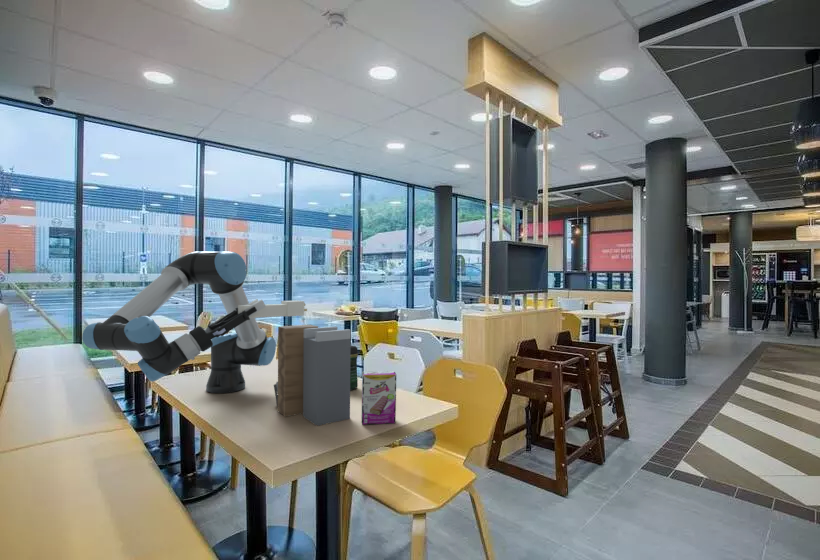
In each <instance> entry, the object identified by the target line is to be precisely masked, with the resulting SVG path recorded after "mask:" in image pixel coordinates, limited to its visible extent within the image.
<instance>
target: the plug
mask: <svg viewBox="0 0 820 560" xmlns="http://www.w3.org/2000/svg"><path fill="white" fill-rule="evenodd" d="M280 301H281V302H280V303H274V304H273V303H271V304H270V303H269V304H267V303H266V304H265V303H264V304H265V306H266V307H265V308H263V309H261V310H260V311H258V312H256V313H255V314H253V315H251V316H250V317H249V318H255V319H257V318H258V319H259V318H279V317H304V316H305V312H308V308H305V306H306V303H305V300H280ZM250 306H251V305H238V314H239V313H241V312H243V311H244V310H245V309H246V308H248V307H250Z"/></svg>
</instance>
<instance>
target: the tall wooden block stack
mask: <svg viewBox="0 0 820 560" xmlns="http://www.w3.org/2000/svg"><path fill="white" fill-rule="evenodd" d="M307 328H319V326H318V325H314V324H298V325H297V324H296V325H282V326H281V325H280V326H277V382H278V394H277V395H278V405H277V412H278V411H279V412H280V413H279V412H278V413H279V414H281V415H282V414H283V415H284V417H285V416H286V417H289V416H288V415H291V416H295V415H294V414H296V415H300V414H299V413H301V414H303V353H304V329H307ZM283 415H282V416H283Z"/></svg>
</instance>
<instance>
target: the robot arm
mask: <svg viewBox="0 0 820 560" xmlns="http://www.w3.org/2000/svg"><path fill="white" fill-rule="evenodd" d="M246 270H247V264H246V262H245V260H244V259H243V257H242V256H241V255H240V254H239V253H237V252H235V251H228V250H227V251H226V250H221V251H193V252H189V253H186V254H183V255H182V256H180V257H178V258H177V259H174V260H173V261H172V262H170V263H169V264H167V266H165V267H164V268H163V269H161V272H160V275H158V277H157V278H155V279H154V280H153V281H152V282H151V283H149V284H148V285H147V286H146V287H145V288H143V289H142V290H141V291H139V293H137V294H136V295H135V296H134V297H132V298H131V299H130V300H128V301H127V302H126V304H124V305H123V306H121V307H120V308H119V309H118V310H116V312H115V313H113V314H112V315H111V316H109V317H108V318H106V320H104V321H103V322H100V321H98V322H93V323H91V324H88V325H87V326H86V327H85V328H84V330H83V331H82V335H81V337H82V342H83V344H84V345H85V346H86V347H87V348H89V349H92V350H93V349H94V350H99V351H127V352H128V351H130V352H132V351H133V352H137V353H138V354H139V355H140V357H141V359H140V360H138V361H137V366H138V367H139V368H140V370H141V372H142V373H143V374H144V375H145V377H146V378H147V379H148V380H149V381H150V382H152V383H153V382H156V381H158V380H159V379H161V378H163V377H165V376H168V375H169V374H170V373H172V372H174V371H175V370H176V369H178V368H179V367H181V366H183V365H184V364H185V363H188V362H189V361H193V360H195V357H197V356H199V355H200V354H201V352H205V351H207V350H208V349H210V373H209V377H208V378H207V379H208V380H207V382H206V385H205V387H206V389H205V390H206V392H208V393H211V394H229V393H235V392H238V391H239V392H240V391H242V390H244V389H245V388H246V380H245V377H244V375H243V372H242V371H243V370H242V366H254V367H261V366H269V365H270V364H271V362H272V361H273V359H274V357H275V354H276V348H277V347H276V346H277V344H276V339H275V338H273V337H271V336H269V337H268V336H267V334H266V331H265V330H264V329H263V328H260V327H259V325H258V322H257V318H249V317H250V316H251V315H253V314H255V313H256V312H258V311H260V310H261V309H263V308H265V307H266V306H265V302H264V301H263V299H259V300H258V298H256V299H253V300H252V301H251V302H249V300H248V298H247V295H246V292H245V290H244V288H243V285H244V283H245V280H246V277H247V271H246ZM197 284H201V285H202V284H204V285H206V284H207V285H208V286H209V287H210V290H211V292H212V293H213V294H216V295H218V296H219V298H220V301H221V302H222V305H223V307H224V309H225V311H226V315H225V316H222V317H221V318H219V319H218V320H215V321H214V322H212V323H210V324H208V325H207V328H205V329H204V328H203V327H202V326H201V325H198V326H196V327H195V328H193V329H190V331H189V332H188V333H184V334H182V335H181V336H179V337H178V338H176V339H174V340H172V341H171V342H169V341H168V340H167V338H166V337H165V334H164V333H163V331H162V330H161V327H160V326H159V325H158V324H157V323H156V322H155V320H154V318H152V316H153V315H154V314H155V313H156V312H157V311H158V310H159V309H160V308H161V307H163V305H164V304H166V303H168V301H169V300H170V299H171V298H172V297H173V296H175V295H176V294H177V293H178V292H179V291H184V290H186V289H187V287H189V286H192V285H197ZM238 305H251V306H250V307H248V308H246V309H245V310H244V311H243V312H241V313H239V314H238ZM233 329H234V331H235V332H231V333H228V332H230V331H232V330H233Z"/></svg>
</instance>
